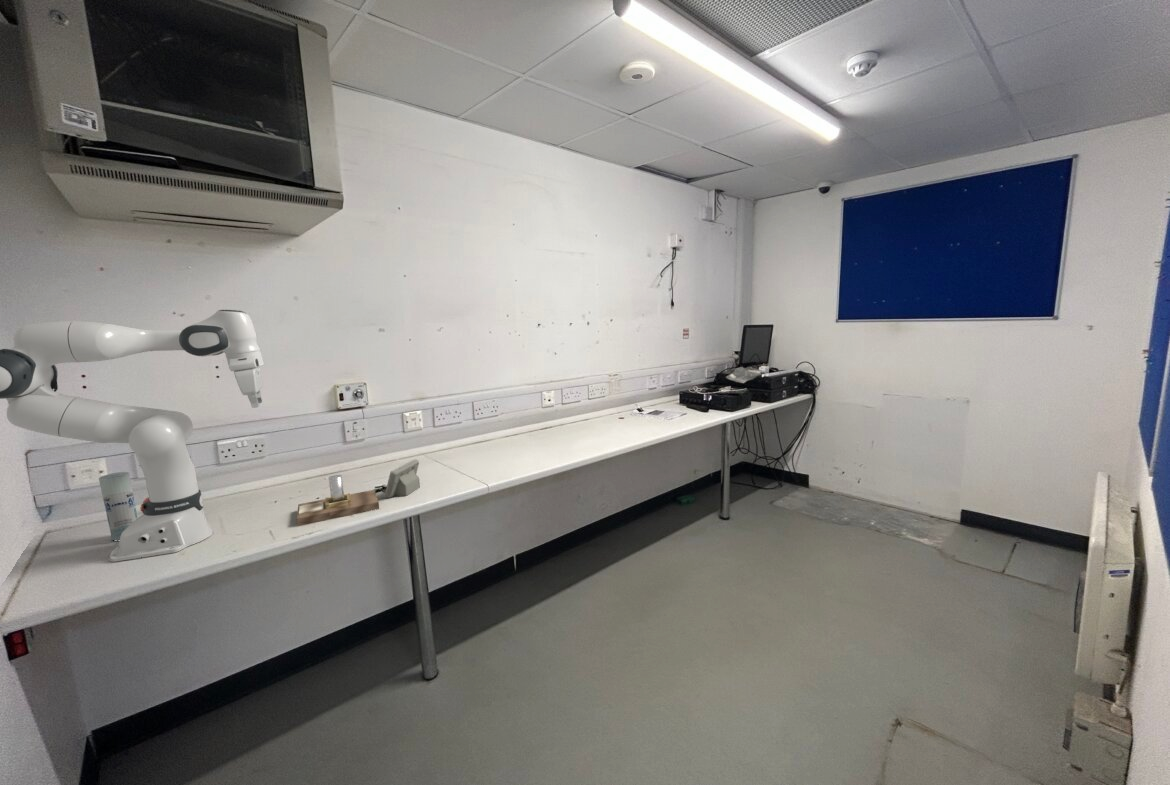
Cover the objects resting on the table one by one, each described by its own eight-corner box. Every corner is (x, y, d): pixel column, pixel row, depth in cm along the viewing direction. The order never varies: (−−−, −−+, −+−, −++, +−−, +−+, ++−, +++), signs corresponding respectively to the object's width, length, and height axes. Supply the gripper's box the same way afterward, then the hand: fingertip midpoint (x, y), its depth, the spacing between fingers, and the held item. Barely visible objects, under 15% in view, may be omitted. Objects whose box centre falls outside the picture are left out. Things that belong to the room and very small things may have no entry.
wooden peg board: (297, 526, 145) (296, 514, 144) (299, 511, 157) (297, 500, 156) (379, 508, 157) (378, 497, 156) (374, 496, 169) (373, 485, 168)
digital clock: (411, 483, 182) (409, 457, 180) (429, 485, 178) (426, 459, 176) (378, 497, 167) (375, 470, 166) (396, 501, 163) (393, 472, 162)
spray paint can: (112, 537, 141) (99, 475, 138) (141, 530, 145) (129, 470, 142) (111, 544, 136) (98, 480, 133) (141, 536, 141) (129, 474, 138)
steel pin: (332, 513, 154) (328, 479, 152) (332, 509, 158) (328, 476, 156) (346, 510, 156) (342, 477, 154) (345, 506, 159) (341, 474, 158)
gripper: (238, 361, 148) (249, 402, 150) (228, 365, 130) (241, 412, 133) (261, 358, 151) (272, 398, 153) (254, 362, 133) (266, 407, 136)
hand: (257, 405), depth 143 cm, fingers open, 8 cm apart
